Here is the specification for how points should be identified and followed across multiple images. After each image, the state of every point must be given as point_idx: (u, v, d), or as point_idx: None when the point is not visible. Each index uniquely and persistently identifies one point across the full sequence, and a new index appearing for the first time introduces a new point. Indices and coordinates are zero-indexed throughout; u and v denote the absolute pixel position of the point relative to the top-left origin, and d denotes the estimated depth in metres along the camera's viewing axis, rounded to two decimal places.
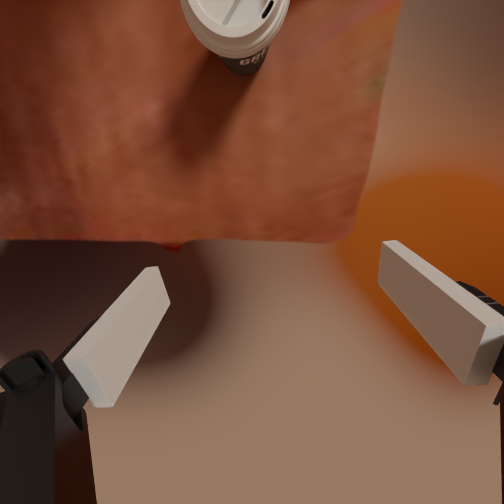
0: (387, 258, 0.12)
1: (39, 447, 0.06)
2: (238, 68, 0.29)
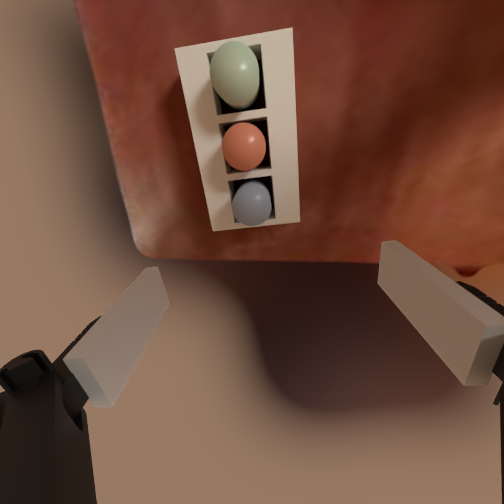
0: (387, 258, 0.12)
1: (39, 447, 0.06)
2: None
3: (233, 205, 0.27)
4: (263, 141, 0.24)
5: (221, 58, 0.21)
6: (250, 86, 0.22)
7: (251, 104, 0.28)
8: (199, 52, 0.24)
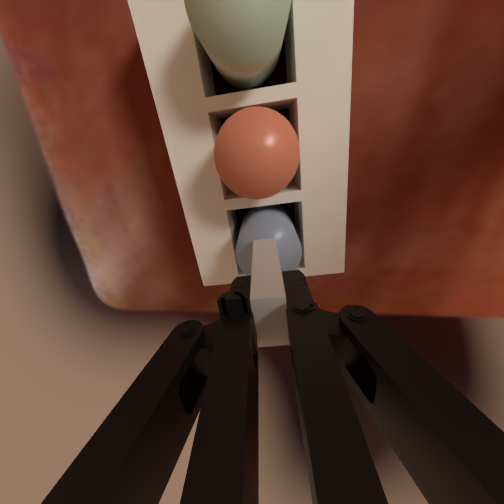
0: None
1: (237, 377, 0.07)
2: None
3: (238, 251, 0.16)
4: (295, 144, 0.12)
5: None
6: (272, 27, 0.10)
7: (266, 78, 0.16)
8: None
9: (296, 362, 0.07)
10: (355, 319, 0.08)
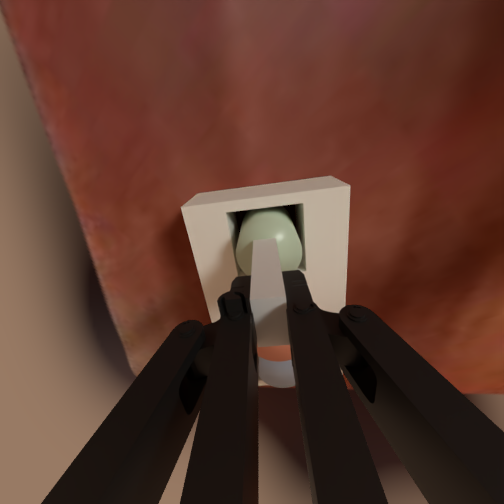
0: None
1: (237, 377, 0.07)
2: None
3: (260, 370, 0.22)
4: None
5: (252, 240, 0.16)
6: (289, 268, 0.17)
7: None
8: (215, 211, 0.17)
9: (296, 362, 0.07)
10: (355, 319, 0.08)
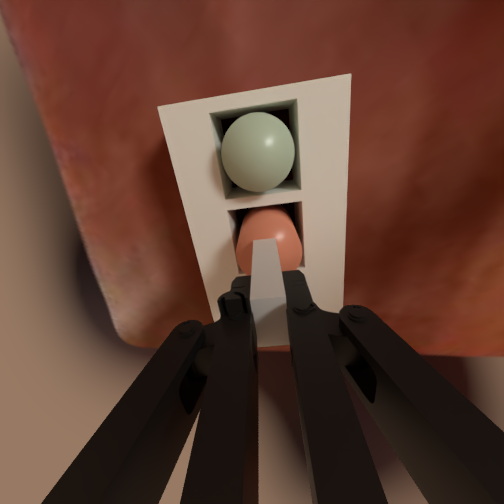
0: None
1: (237, 377, 0.07)
2: None
3: None
4: (299, 246, 0.16)
5: (239, 136, 0.14)
6: (280, 172, 0.15)
7: None
8: (197, 112, 0.15)
9: (296, 362, 0.07)
10: (355, 319, 0.08)
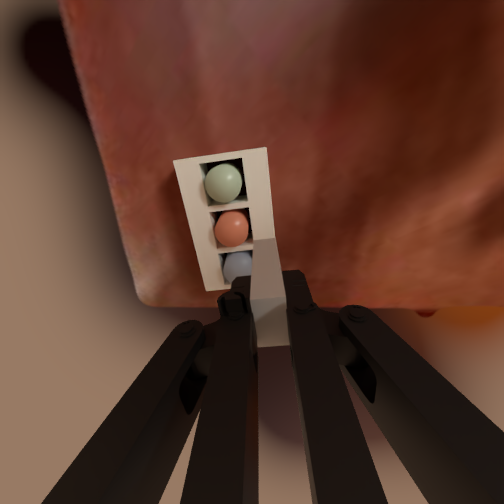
0: None
1: (237, 377, 0.07)
2: None
3: (224, 270, 0.35)
4: (246, 227, 0.32)
5: (213, 175, 0.29)
6: (235, 193, 0.30)
7: None
8: (193, 163, 0.30)
9: (296, 362, 0.07)
10: (355, 319, 0.08)
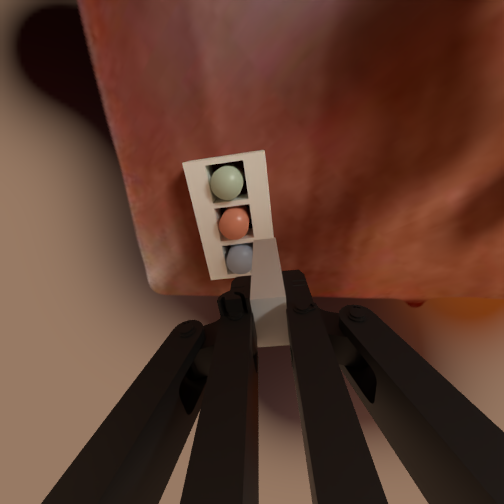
0: None
1: (237, 377, 0.07)
2: None
3: (227, 261, 0.39)
4: (246, 222, 0.36)
5: (217, 176, 0.33)
6: (236, 191, 0.34)
7: None
8: (199, 165, 0.34)
9: (296, 362, 0.07)
10: (355, 319, 0.08)
